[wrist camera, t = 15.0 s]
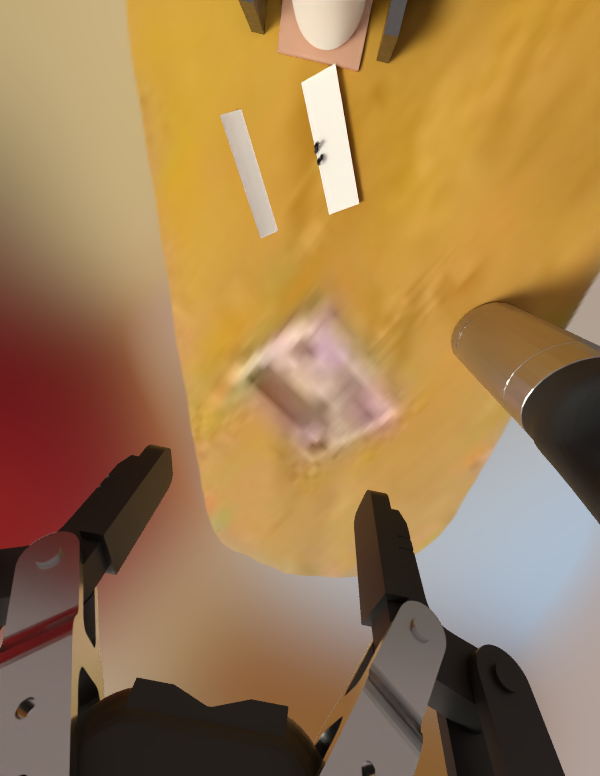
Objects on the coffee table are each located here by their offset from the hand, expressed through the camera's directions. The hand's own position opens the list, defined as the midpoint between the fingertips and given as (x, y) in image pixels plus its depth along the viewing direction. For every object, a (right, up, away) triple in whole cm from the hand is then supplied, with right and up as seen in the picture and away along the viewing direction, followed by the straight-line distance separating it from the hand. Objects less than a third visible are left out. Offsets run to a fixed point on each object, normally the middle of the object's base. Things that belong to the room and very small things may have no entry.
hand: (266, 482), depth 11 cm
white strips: (+1, +30, +21) cm, 36 cm away
